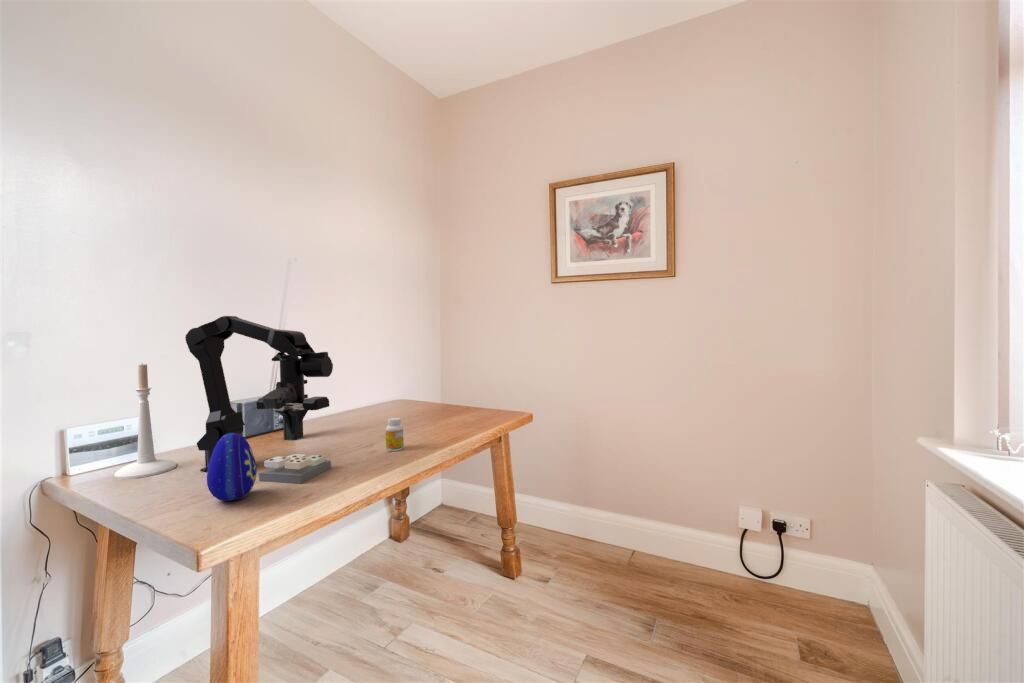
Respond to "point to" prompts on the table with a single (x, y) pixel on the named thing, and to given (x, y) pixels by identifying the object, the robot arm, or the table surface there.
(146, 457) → the candlestick
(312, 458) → the key three dot
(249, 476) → the ornament
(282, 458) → the key two dot
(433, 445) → the table surface
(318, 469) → the keypad board
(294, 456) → the key one dot
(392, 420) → the supplement bottle
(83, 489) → the table surface
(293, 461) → the key four dot
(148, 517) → the table surface
